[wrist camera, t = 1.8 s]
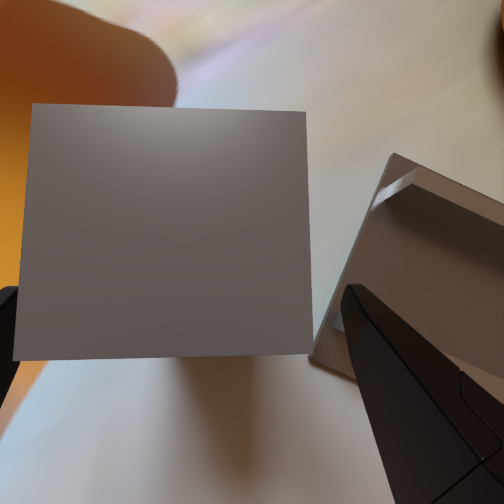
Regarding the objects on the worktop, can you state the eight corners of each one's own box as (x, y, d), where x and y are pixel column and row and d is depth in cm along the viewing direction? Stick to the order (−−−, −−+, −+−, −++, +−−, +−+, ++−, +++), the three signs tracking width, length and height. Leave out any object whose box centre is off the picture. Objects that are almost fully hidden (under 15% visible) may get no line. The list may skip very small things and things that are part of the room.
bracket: (549, 467, 19) (622, 506, 15) (307, 356, 19) (326, 370, 15) (608, 258, 21) (685, 251, 17) (390, 156, 20) (423, 127, 17)
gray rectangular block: (253, 313, 19) (313, 353, 6) (162, 314, 18) (13, 361, 5) (253, 227, 19) (305, 94, 6) (164, 227, 19) (34, 85, 6)
